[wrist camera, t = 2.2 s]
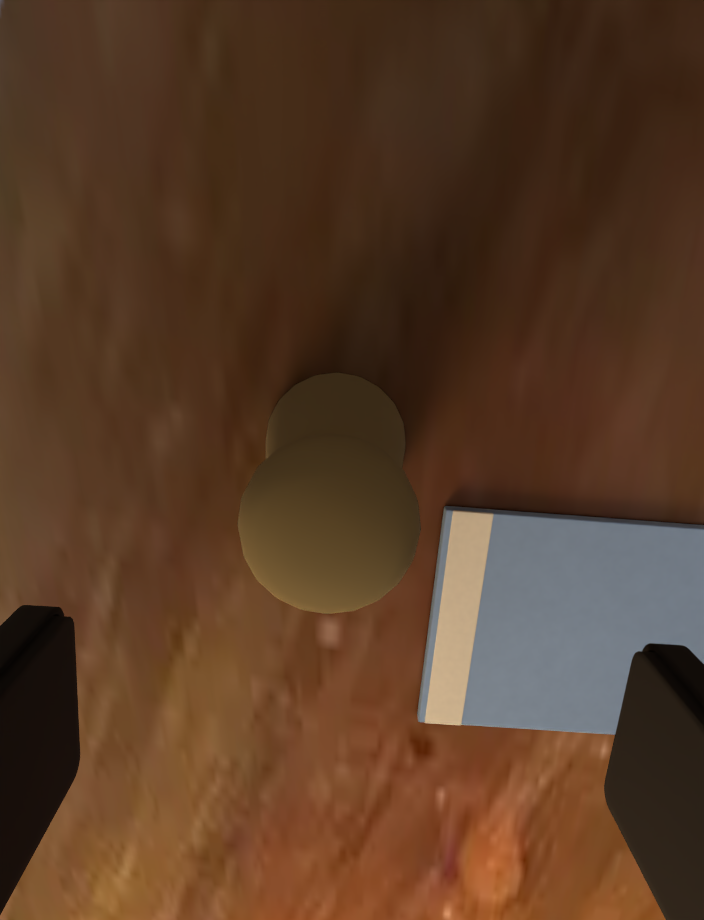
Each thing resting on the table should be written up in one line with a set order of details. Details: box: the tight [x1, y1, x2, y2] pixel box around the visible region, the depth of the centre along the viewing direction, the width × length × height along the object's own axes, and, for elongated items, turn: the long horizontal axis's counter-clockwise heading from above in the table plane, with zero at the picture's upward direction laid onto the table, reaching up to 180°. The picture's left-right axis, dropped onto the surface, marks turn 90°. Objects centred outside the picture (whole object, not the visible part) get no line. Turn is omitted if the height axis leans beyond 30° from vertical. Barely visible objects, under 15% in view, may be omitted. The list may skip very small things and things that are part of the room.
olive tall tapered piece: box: [238, 372, 421, 614], centre depth 22 cm, size 6×6×11 cm
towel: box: [417, 506, 704, 735], centre depth 29 cm, size 11×20×1 cm, turn 85°
